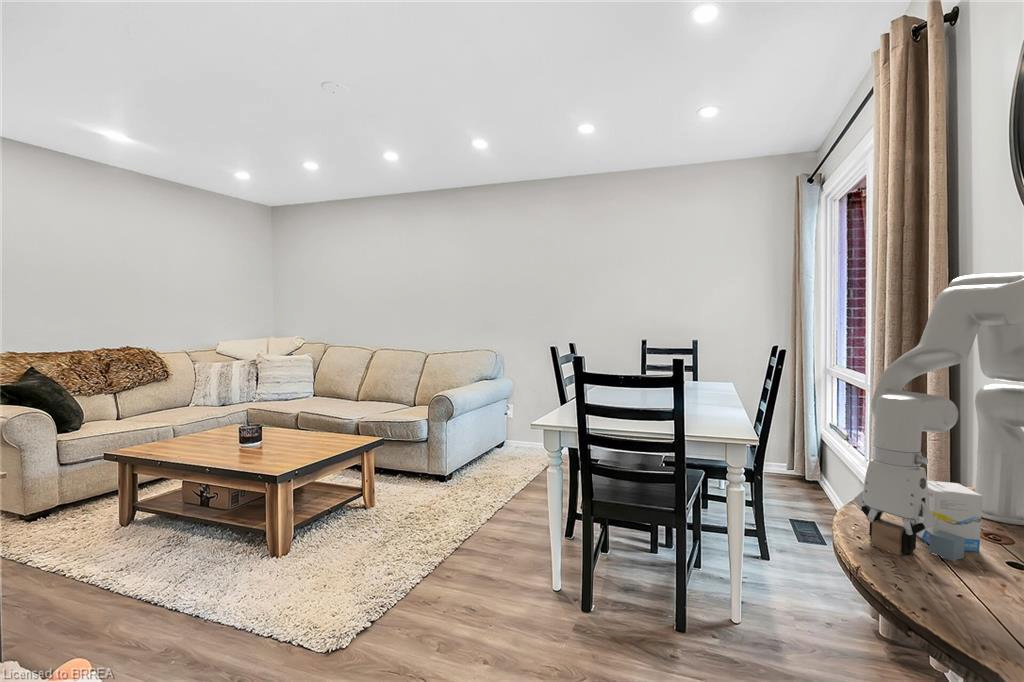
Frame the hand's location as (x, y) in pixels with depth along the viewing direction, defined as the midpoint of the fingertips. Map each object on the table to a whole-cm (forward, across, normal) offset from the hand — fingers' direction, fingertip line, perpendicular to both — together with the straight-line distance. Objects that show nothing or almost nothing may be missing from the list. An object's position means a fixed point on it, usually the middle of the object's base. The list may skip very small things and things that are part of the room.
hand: (891, 545), depth 105 cm
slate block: (+1, -6, -7) cm, 9 cm away
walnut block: (+1, 0, 0) cm, 1 cm away
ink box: (+1, -3, -14) cm, 15 cm away
